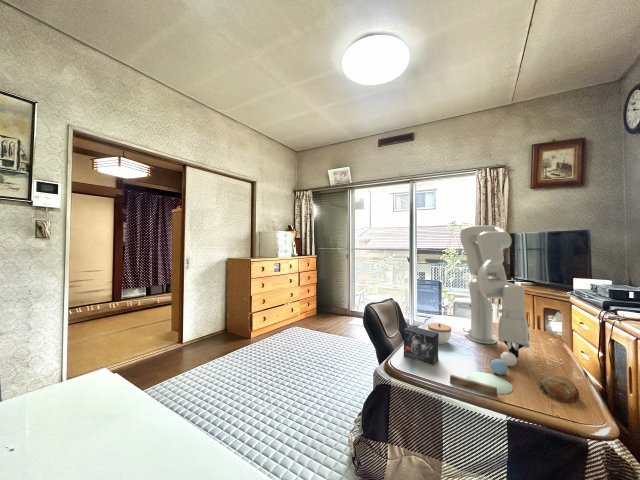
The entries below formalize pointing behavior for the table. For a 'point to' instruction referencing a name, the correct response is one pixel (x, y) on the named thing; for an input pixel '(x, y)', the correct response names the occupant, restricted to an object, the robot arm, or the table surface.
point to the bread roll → (559, 388)
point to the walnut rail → (473, 385)
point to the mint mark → (491, 381)
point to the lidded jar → (441, 332)
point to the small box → (421, 344)
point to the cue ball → (508, 358)
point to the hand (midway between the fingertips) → (513, 358)
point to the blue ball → (499, 366)
